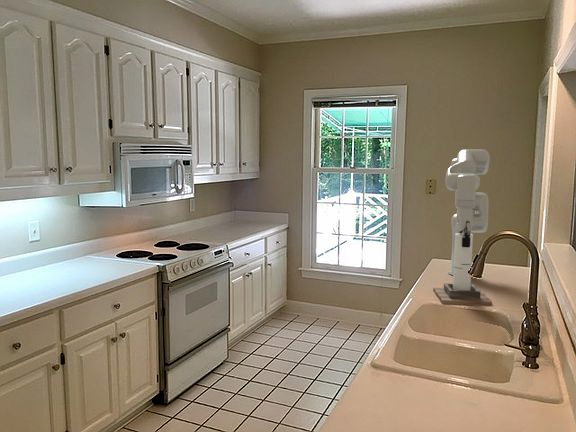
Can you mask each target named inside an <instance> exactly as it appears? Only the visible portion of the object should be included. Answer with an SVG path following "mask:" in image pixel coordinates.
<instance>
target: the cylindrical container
mask: <svg viewBox="0 0 576 432" xmlns="http://www.w3.org/2000/svg"><path fill="white" fill-rule="evenodd" d="M462 238H463V233H456V234H455V252H454V275H452V276H453V279H452V280H453V281H452V284H453V290H461V291H470V288H471V284H472V276H470V275H469V274H468V271H469V269H470V267H471V265H472V262H473V242H474V234H473V233H470V247H462ZM472 266H473V265H472ZM471 268H472V267H471Z"/></svg>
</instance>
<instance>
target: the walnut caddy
mask: <svg viewBox="0 0 576 432" xmlns="http://www.w3.org/2000/svg"><path fill="white" fill-rule="evenodd" d="M432 292H433V293H434V294H435V295H436V298H438V300H439V301H440V303H441V304H443V305H472V306H473V305H474V306H493V300H491V299H490V298H489V297H488V296H487V295H486V294H485V293H484V292H483V291H482V289H480V288H478V287H476V285H474V284H473V283H471V288H470V291H461V290H453V283H443V287H435V286H434V287H433V288H432Z"/></svg>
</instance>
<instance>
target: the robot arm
mask: <svg viewBox="0 0 576 432" xmlns="http://www.w3.org/2000/svg"><path fill="white" fill-rule="evenodd" d="M456 156H457V157H456V158H453V159H452V160H451V162H450V167H449V168H448V169H447V170H446V173H445V183H444V184H445V188H446V189H447V190H449V191H455V193H454V197H455V198H454V205H455V208H456V213H454V214H453V215H452V217H451V220H450V223H451V234H452V235H451V236H452V238H451V242H452V243H451V262H450V263H451V264H450V269H448V270H447V274H448V275H450V276H453V275H454V252H455V234H456V233H463V238H462V247H470V234H471V233H475V234H476V233H478V234H479V233H482V234H483V233H486V232H487V230H488V226H489V203H490V201H489V197H488V194H487V193H485V192H481V191H480V192H478V191H477V190H478V189H479V188H480V186H481V177H480V176H484V175H486V174H488V171H489V166H490V161H491V156H490V153H489V152H488V150H486V149H485V148H484V149H483V148H482V149H478V148H477V149H476V148H475V149H473V148H472V149H471V148H470V149H469V148H468V149H462V150H460V151H459V152H458V153H457V155H456ZM476 191H477V192H476ZM474 212H478V213H474Z"/></svg>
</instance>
